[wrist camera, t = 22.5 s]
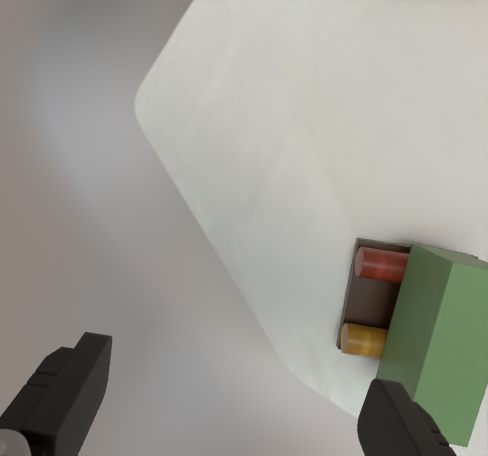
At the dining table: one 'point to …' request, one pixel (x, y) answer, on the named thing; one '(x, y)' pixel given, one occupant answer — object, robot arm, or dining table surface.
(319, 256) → the dining table surface
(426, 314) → the bar
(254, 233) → the dining table surface
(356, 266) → the rod rack
